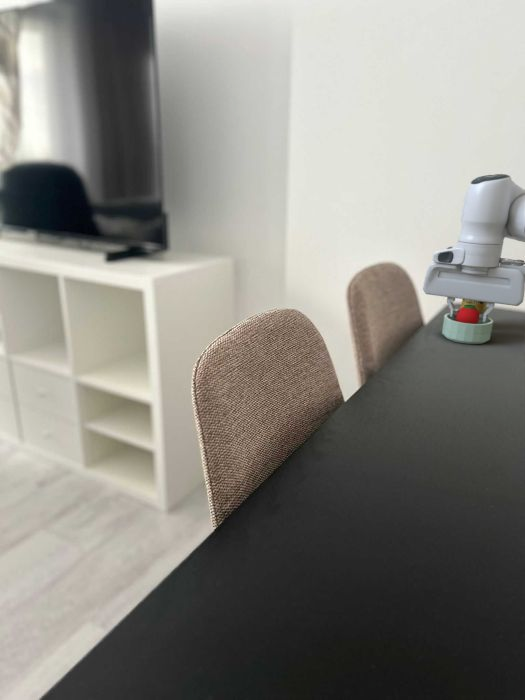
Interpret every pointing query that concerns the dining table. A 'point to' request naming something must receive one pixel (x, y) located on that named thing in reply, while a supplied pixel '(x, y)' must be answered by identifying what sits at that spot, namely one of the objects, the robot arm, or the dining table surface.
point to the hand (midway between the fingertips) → (467, 319)
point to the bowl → (467, 330)
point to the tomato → (468, 314)
